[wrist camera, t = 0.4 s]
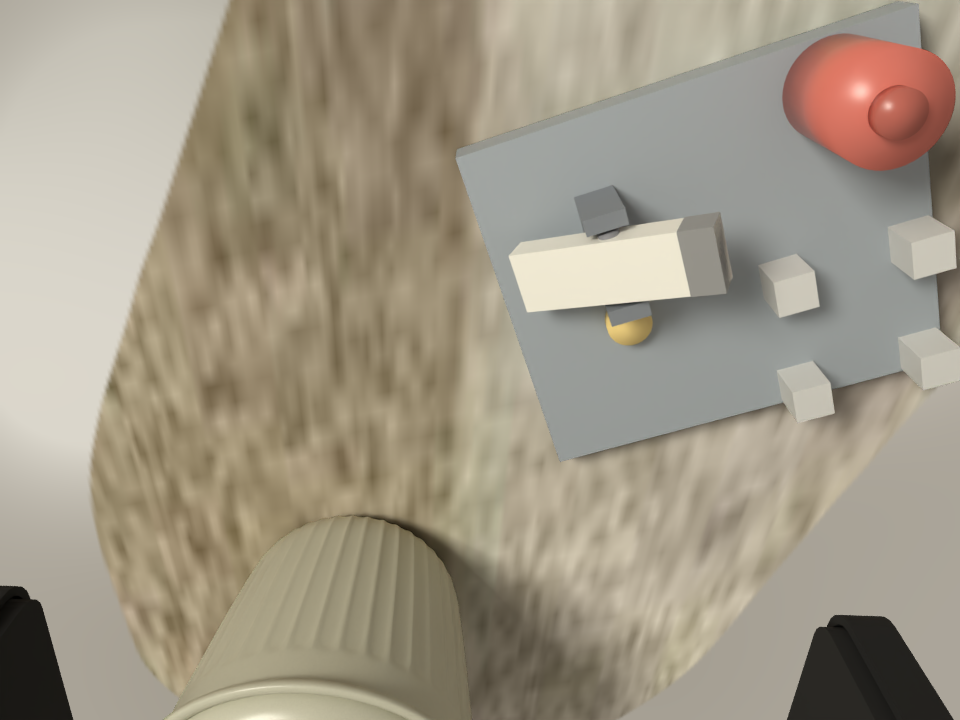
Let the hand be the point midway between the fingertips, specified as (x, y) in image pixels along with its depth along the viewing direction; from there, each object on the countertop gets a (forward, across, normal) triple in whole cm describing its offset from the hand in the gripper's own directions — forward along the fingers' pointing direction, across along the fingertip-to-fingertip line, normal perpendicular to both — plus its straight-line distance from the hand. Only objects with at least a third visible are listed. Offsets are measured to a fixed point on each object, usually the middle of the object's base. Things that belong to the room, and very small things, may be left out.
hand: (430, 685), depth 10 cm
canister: (+35, +7, +30) cm, 46 cm away
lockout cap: (+32, -17, -4) cm, 36 cm away
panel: (+34, -13, +5) cm, 37 cm away
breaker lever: (+28, -7, +4) cm, 30 cm away
